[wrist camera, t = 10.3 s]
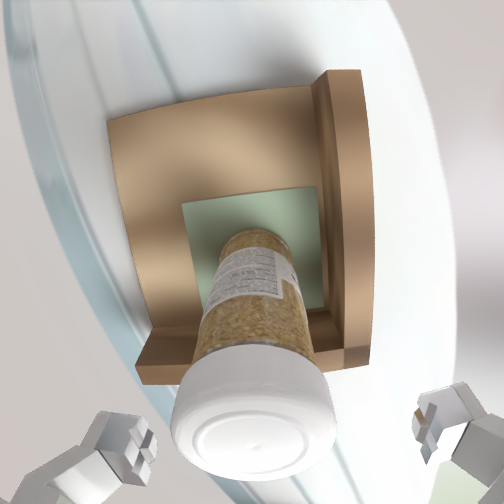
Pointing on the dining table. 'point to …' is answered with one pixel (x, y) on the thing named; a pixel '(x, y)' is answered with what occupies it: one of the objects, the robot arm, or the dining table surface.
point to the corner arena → (251, 209)
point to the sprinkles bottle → (254, 371)
